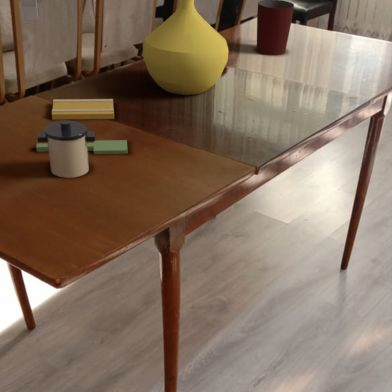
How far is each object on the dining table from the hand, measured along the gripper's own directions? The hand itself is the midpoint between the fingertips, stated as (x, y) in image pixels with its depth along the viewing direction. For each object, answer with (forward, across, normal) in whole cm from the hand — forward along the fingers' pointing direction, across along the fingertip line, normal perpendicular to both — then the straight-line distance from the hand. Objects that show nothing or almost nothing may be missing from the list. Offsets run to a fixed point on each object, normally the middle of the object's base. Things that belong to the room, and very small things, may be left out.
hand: (34, 10), depth 85 cm
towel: (+26, -32, +4) cm, 41 cm away
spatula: (+26, -14, +4) cm, 30 cm away
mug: (+27, -74, +51) cm, 94 cm away
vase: (+26, -46, +25) cm, 59 cm away
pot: (+26, -6, +2) cm, 27 cm away
